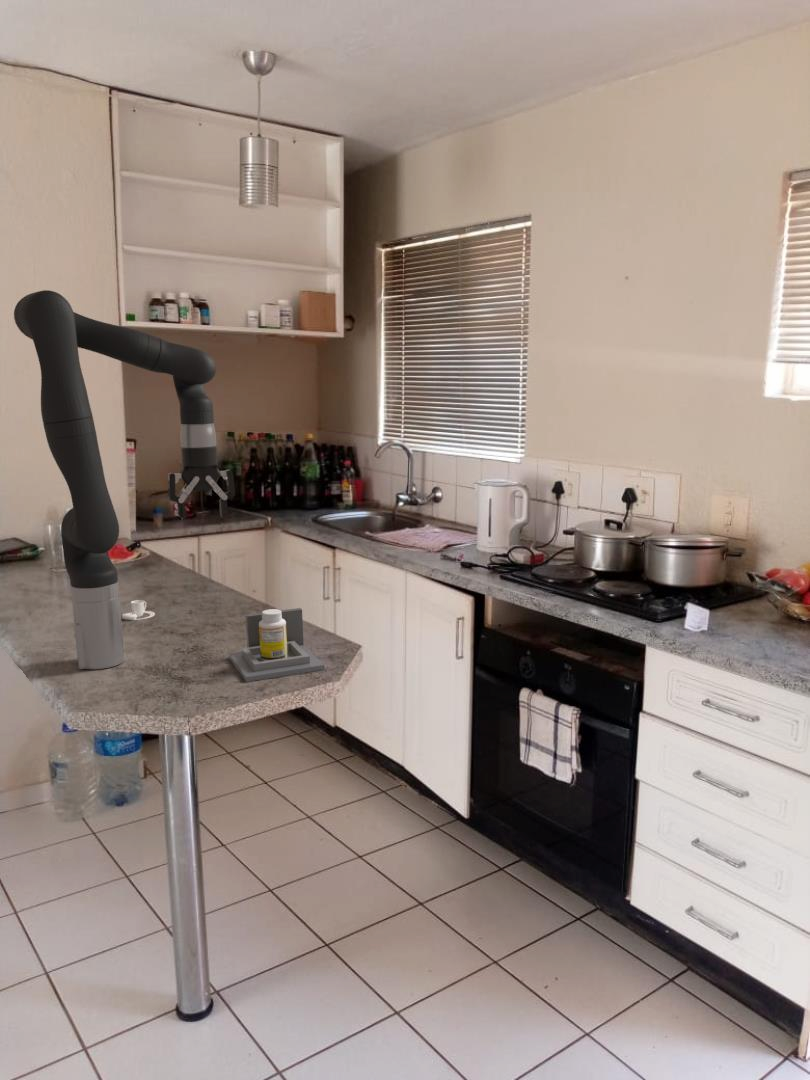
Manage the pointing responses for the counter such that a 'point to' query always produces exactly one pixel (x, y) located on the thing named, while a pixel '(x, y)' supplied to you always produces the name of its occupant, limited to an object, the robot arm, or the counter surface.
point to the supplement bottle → (272, 635)
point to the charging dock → (293, 664)
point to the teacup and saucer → (137, 611)
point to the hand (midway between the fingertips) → (203, 518)
